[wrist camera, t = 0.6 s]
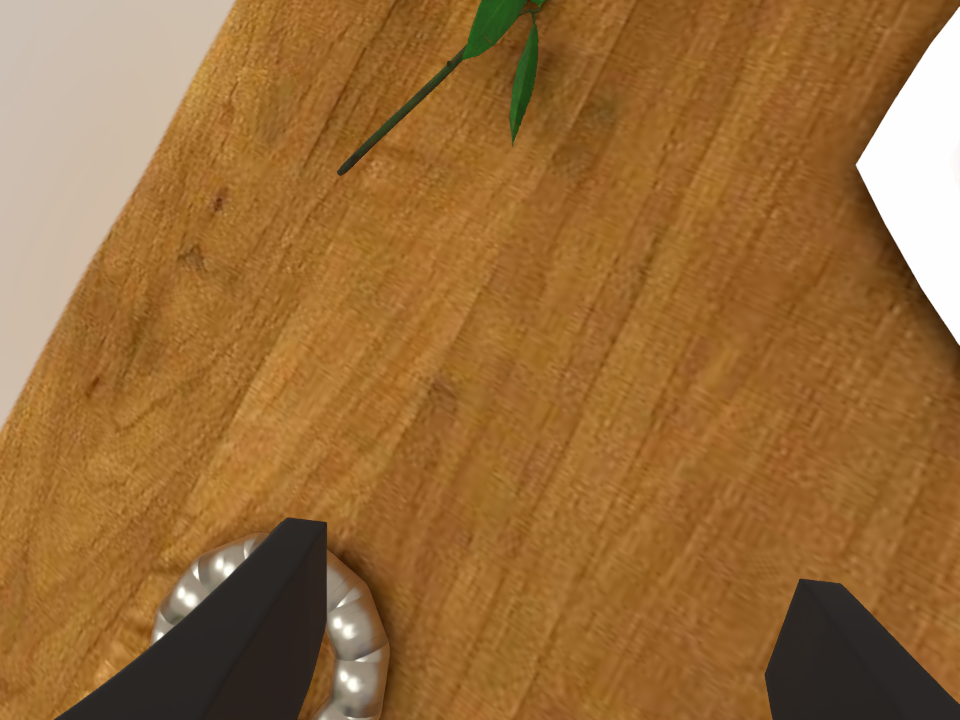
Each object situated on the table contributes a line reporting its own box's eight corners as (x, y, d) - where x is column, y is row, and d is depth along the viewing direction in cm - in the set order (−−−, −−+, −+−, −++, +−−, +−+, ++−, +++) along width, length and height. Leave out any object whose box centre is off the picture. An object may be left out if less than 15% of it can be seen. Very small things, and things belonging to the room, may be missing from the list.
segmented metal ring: (373, 802, 34) (357, 829, 32) (148, 749, 36) (117, 771, 34) (410, 553, 35) (396, 562, 33) (188, 514, 37) (161, 519, 35)
